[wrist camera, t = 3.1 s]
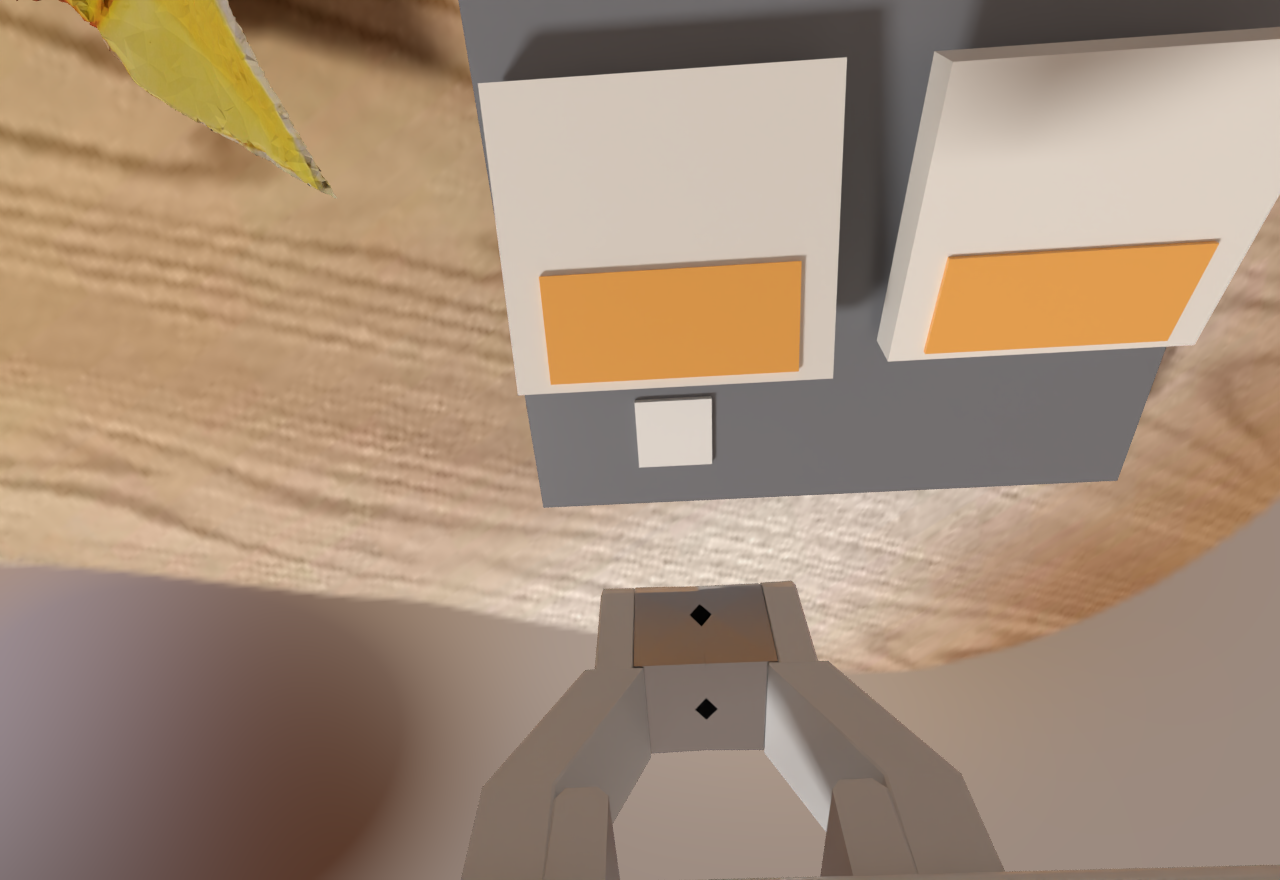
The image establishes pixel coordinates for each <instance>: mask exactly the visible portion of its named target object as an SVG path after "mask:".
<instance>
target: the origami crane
mask: <svg viewBox="0 0 1280 880" xmlns="http://www.w3.org/2000/svg"><path fill="white" fill-rule="evenodd" d="M17 1H18V0H17ZM34 1H40V0H34ZM59 1H61V2H66V3H68V4H69V5H71V6H72V7H73V8H74V9H75V10H76V11H77V12H78V13H79V14H80V15H81V17H82V18H83V19H84V21H87V22H90V25H92V26H94V27H96V28H98V30H99V32H100V33H101V35H102V38H103V40H104V42H105V44H106V45H107V47H108V49H109V51H110V52H111V53H112V54H113V55H114V56H115V57H116V58H117V59H118V60H119V61H120V62H121V63H123V64H124V66H125V68H126V69H127V71H128V73H129V75H130V76H131V77H132V79H133V80H134V82H135V83H136V84H138V85H139V86H140V87H142V88H143V89H145V90H146V91H147V92H148V93H150V94H151V95H152V96H154V97H156V98H158V99H160V100H162V101H163V102H165V103H166V104H167V105H169V106H170V107H172V108H174V109H175V110H177V111H179V112H181V113H182V114H183V115H185V116H187V117H189V118H190V119H192V120H194V121H195V122H198V123H202V124H204V125H205V126H207V127H208V128H209V129H211V130H212V131H214V132H215V133H219V134H221V135H222V136H225V137H226V138H228V139H230V140H233V141H235V142H236V143H239V144H240V145H243V146H244V147H245V148H246V149H247V150H248V151H251V152H252V153H254V154H255V155H256V156H260V157H262V158H265V159H267V160H268V161H271V162H272V163H273V164H274V165H276V166H277V167H278V168H280V169H281V170H283V171H284V172H286V173H288V174H290V175H291V176H292V177H295V178H297V179H299V180H300V181H303V182H305V183H307V184H308V185H309V186H311V187H313V188H315V189H317V190H319V191H321V192H323V193H325V194H328V195H331V196H332V197H333V198H337V197H336V196H335V194H334V193H333V191H332V189H331V186H330V185H329V183H328V182H327V181H326V180H325V179H324V177H323V176H322V175H321V173H320V172H319V171H321V170H320V169H319V168H318V166H317V165H316V164H315V162H314V160H313V159H312V156H311V154H310V153H309V152H308V151H307V149H306V145H305V144H304V142H303V141H302V140H301V138H300V134H299V133H298V132H297V131H296V130H295V129H294V128H293V126H294V125H293V124H292V122H291V121H290V119H289V114H288V113H287V111H286V110H285V109H284V107H283V106H282V104H281V101H280V99H279V98H278V96H277V95H276V93H275V92H274V91H273V88H270V85H269V82H268V80H267V79H266V78H264V71H262V68H261V67H259V65H258V62H257V59H256V56H255V54H254V53H253V51H252V49H251V46H249V43H248V42H247V40H246V37H245V35H244V33H243V32H242V31H243V29H242V28H241V27H240V26H239V24H238V23H237V22H236V21H235V18H236V17H234V16H233V14H232V11H231V9H230V7H229V2H228V0H59Z"/></svg>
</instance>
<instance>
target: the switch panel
mask: <svg viewBox="0 0 1280 880" xmlns="http://www.w3.org/2000/svg"><path fill="white" fill-rule="evenodd" d="M459 6H460V12H461V18H462V24H463V30H464V36H465V42H466V48H467V54H468V60H469V66H470V72H471V78H472V84H473V90H474V96H475V102H476V108H477V114H478V120H479V126H480V132H481V138H482V144H483V150H484V155H485V161H486V167H487V173H488V179H489V185H490V191H491V197H492V190H491V182H490V174H489V167H488V159H487V151H486V143H485V136H484V128H483V120H482V113H481V105H480V97H479V89H478V83H490V82H504V81H518V80H532V79H547V78H561V77H575V76H589V75H603V74H617V73H631V72H645V71H660V70H674V69H688V68H702V67H716V66H730V65H744V64H759V63H773V62H787V61H801V60H815V59H829V58H843V57H847V69H846V92H845V115H844V138H843V161H842V184H841V207H840V230H839V253H838V276H837V299H836V322H835V346H834V369H833V379H815V380H796V381H777V382H758V383H740V384H721V385H702V386H684V387H665V388H646V389H628V390H609V391H590V392H571V393H553V394H534V395H525V400H526V406H527V412H528V418H529V424H530V430H531V436H532V442H533V448H534V454H535V460H536V465H537V471H538V477H539V483H540V489H541V495H542V501H543V507H544V508H546V507H567V506H589V505H610V504H631V503H652V502H673V501H694V500H716V499H737V498H758V497H779V496H800V495H822V494H843V493H864V492H885V491H906V490H927V489H949V488H970V487H991V486H1012V485H1033V484H1054V483H1076V482H1097V481H1117V480H1118V477H1119V474H1120V472H1121V469H1122V466H1123V463H1124V461H1125V458H1126V455H1127V453H1128V450H1129V447H1130V444H1131V442H1132V439H1133V436H1134V433H1135V431H1136V428H1137V425H1138V423H1139V420H1140V417H1141V414H1142V412H1143V409H1144V406H1145V403H1146V401H1147V398H1148V395H1149V392H1150V390H1151V387H1152V384H1153V382H1154V379H1155V376H1156V373H1157V371H1158V368H1159V365H1160V362H1161V360H1162V357H1163V354H1164V352H1165V349H1166V347H1148V348H1130V349H1112V350H1093V351H1075V352H1056V353H1038V354H1019V355H1001V356H982V357H964V358H946V359H927V360H909V361H890V362H888V361H887V359H886V357H885V355H884V353H883V351H882V349H881V348H880V346H879V344H878V342H877V337H878V332H879V327H880V322H881V317H882V312H883V307H884V302H885V297H886V292H887V287H888V282H889V277H890V272H891V267H892V262H893V257H894V251H895V246H896V241H897V236H898V231H899V226H900V221H901V216H902V211H903V206H904V201H905V196H906V191H907V186H908V181H909V176H910V171H911V166H912V161H913V156H914V151H915V146H916V141H917V136H918V131H919V126H920V121H921V116H922V111H923V106H924V101H925V96H926V91H927V86H928V81H929V76H930V71H931V66H932V61H933V56H934V51H945V50H959V49H973V48H988V47H1002V46H1016V45H1030V44H1044V43H1058V42H1072V41H1086V40H1101V39H1115V38H1129V37H1143V36H1157V35H1171V34H1185V33H1199V32H1214V31H1228V30H1242V29H1256V28H1270V27H1280V0H459ZM492 203H493V197H492ZM493 209H494V205H493ZM494 215H495V213H494Z"/></svg>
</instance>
